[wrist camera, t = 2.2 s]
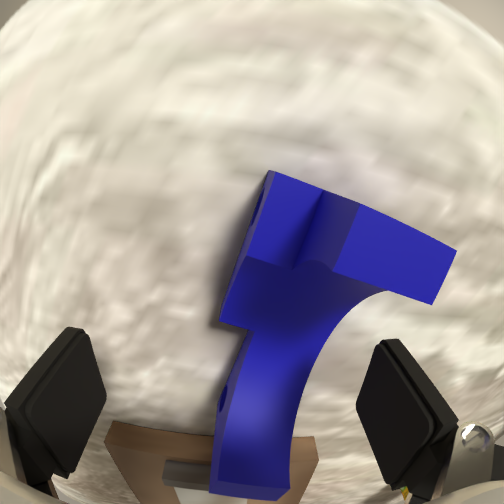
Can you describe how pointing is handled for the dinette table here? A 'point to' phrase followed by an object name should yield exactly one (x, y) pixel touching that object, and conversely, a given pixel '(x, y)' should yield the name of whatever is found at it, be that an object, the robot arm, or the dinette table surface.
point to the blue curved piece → (301, 315)
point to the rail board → (190, 466)
